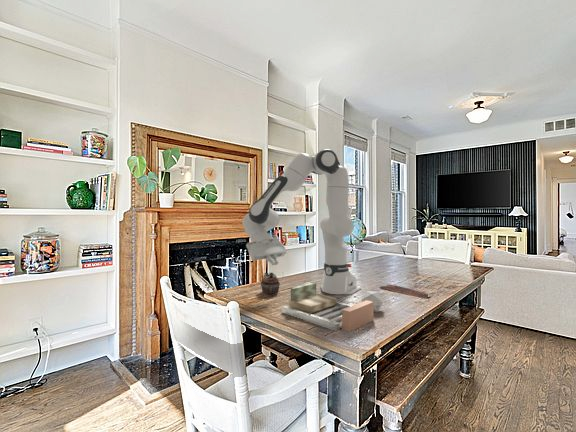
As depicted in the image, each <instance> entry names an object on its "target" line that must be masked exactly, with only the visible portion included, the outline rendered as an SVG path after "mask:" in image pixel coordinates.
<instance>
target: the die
mask: <svg viewBox="0 0 576 432" xmlns="http://www.w3.org/2000/svg"><path fill="white" fill-rule="evenodd" d="M366 300H368V301H372V302H374V309H373V313H379V312H380V309H381V307H382V305H383V300H382V297H381V293H380V291H374V290H373V291H372V290H366V291H365V293H364V295H363V296H362V298H361V302H363V301H366Z"/></svg>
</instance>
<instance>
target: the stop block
mask: <svg viewBox="0 0 576 432" xmlns="http://www.w3.org/2000/svg"><path fill="white" fill-rule="evenodd" d="M373 309H374V302H372V301H368V300H366V301H363V302H362V301H361V302H359V303H356V304H353V305H352V306H350V307H348V308H345V309H343V310H342V328H341V330H342V331H345V332H348V333H349V332H352V331H354V330H356V329H359V328H360V327H363V326H365V325H366V324H368V323H371V322H373V321H374V312H373Z"/></svg>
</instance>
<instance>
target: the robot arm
mask: <svg viewBox="0 0 576 432" xmlns="http://www.w3.org/2000/svg"><path fill="white" fill-rule="evenodd" d="M311 173H312V174H314V175H318V176H319V175H324V176H325V178H326V198H325V202H326V206H327V209H328V215H326V216H324V217H323V218H322V219H321V221H320V225H319V226H320V229H321V231H322V237H323V243H324V263H323V270H324V272H323V273H322V281H321V285H320V289H321V291H322V292H323V293H326V294H330V295H353V294H354V293H356V292H358V291H360V290H362V286H360V285H358V283H357V277H356V276H355V275H354V274H353V273H352V272H351V271H350V270H349V268H350V269H351V268H352V263H347V262H348V257H347V256H348V249H347V246H346V244H345V240H344V238H346V237H348V236H350V235H351V234H352V233H353V231H354V228H355V227H354V226H355V225H354V221H353V220H352V218H351V213H350V212H351V211H350V207H349V192H350V191H349V189H350V188H349V186H350V185H349V184H350V183H349V172H348V169H347V168H346V167H345V166H343V165H341V164H340V160H339V159H338V156H337V154H336V153H335V152H334V151H333V150H332V149H329V148H327V149H321V150H319V151H318V152H316V153H315V154H314V155H312V156H311V155H309V154H308V153H304V152H303V153H299V154H297V155H296V156H295V157H294V158H293V159H292V160H291V161H290V163H289V164H288V166H287V167H286V169H285V170H284V172H282V173H281V175H279V176H278V177H276V178H275V179H274V180H273V181H272V182H271V183H270V185H269V186H268V187H267V189H266V190H265V191H264V192H263V194H262V195H261V196H260V197H259V198H258V199H257V200H256V201H255V202H253V203H252V204H251V206H250V208H249V210H248V213H247V214H245V215H244V216H243V218H242V227H243V229H244V232H245V233H246V235H247V236H249V238H250V241H249V242H247V243H246V244H245V246H246V249H247V252H248V254H249V256H250V259H251V260H252V261H259V260H260V261H261V260H266V261H267V262H268V263H270V264H271V266H276V265H278V264H279V261H278V258H280V257H284V256H285V255H286V254H287V249H286V247H285V245H284V244H283V243H282V241H281V240H280V239H279V238H280V237H279V236H277V235H276V234H275V235H274V234H271V233H268V232H269V231H271V230H272V229H274V228H276V227H277V226H278V225H279V222H280V215H279V213H278V212H277V211H275V210H274V209H273V208H271V207H272V205H273V204H274V202H275V200H276V199H278V197H279V196H280V195H281V194H282V193H283V192H286V191H288V192H294V191H298V190H299V189H300V188H301V187H303V185H304V183H305V182H306V180H307V178H308V177H309V175H310V174H311Z"/></svg>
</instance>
